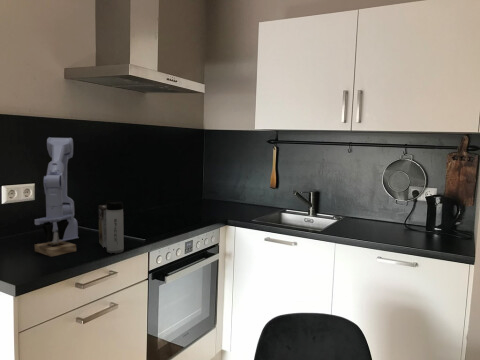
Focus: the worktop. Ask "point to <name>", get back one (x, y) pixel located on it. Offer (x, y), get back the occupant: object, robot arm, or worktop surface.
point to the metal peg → (55, 238)
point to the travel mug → (114, 226)
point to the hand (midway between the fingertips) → (55, 240)
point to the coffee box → (102, 225)
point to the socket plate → (55, 248)
